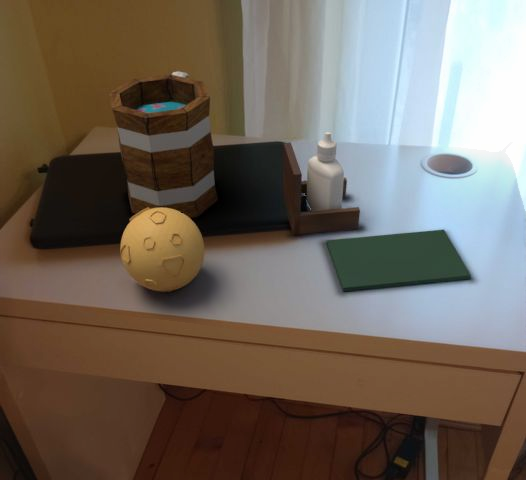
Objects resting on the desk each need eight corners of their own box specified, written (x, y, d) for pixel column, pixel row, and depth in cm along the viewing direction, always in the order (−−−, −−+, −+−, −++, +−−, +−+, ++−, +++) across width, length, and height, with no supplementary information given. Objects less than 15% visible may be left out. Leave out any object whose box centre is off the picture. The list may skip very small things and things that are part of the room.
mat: (443, 233, 85) (444, 229, 84) (470, 279, 78) (471, 275, 77) (326, 243, 84) (326, 240, 83) (342, 291, 76) (342, 287, 76)
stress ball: (152, 252, 83) (141, 183, 76) (220, 268, 80) (215, 199, 73) (112, 297, 76) (95, 227, 69) (184, 317, 74) (174, 246, 67)
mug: (208, 225, 87) (199, 120, 77) (114, 219, 89) (91, 115, 78) (233, 156, 101) (227, 59, 90) (151, 152, 102) (136, 56, 92)
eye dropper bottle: (310, 226, 86) (313, 144, 78) (305, 204, 90) (307, 124, 82) (342, 224, 87) (348, 142, 78) (335, 202, 91) (340, 122, 82)
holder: (344, 195, 92) (349, 137, 86) (358, 229, 86) (364, 168, 79) (283, 201, 91) (283, 142, 85) (292, 235, 85) (294, 174, 79)
